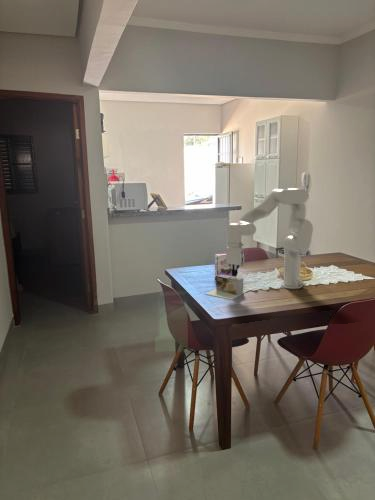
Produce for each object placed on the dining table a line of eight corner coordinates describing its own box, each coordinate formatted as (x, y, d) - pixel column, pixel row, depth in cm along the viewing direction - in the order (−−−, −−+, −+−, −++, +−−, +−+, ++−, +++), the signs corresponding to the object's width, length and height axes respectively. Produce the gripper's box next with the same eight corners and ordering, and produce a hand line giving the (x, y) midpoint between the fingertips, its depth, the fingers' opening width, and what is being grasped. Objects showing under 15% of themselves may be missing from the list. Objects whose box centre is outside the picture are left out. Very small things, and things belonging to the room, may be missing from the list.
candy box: (216, 279, 248) (216, 255, 245) (214, 277, 254) (214, 253, 250) (236, 278, 251) (236, 254, 247) (233, 275, 256) (233, 252, 253)
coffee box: (243, 277, 217) (222, 273, 228) (237, 280, 213) (215, 275, 224) (243, 292, 219) (222, 287, 230) (237, 295, 215) (215, 289, 226)
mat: (247, 291, 223) (247, 290, 223) (231, 299, 209) (231, 299, 209) (221, 286, 233) (221, 285, 233) (205, 294, 219) (205, 293, 219)
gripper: (249, 245, 211) (249, 276, 215) (226, 242, 220) (226, 272, 224) (243, 247, 205) (242, 279, 209) (220, 244, 214) (220, 275, 218)
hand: (234, 275), depth 217 cm, fingers closed
